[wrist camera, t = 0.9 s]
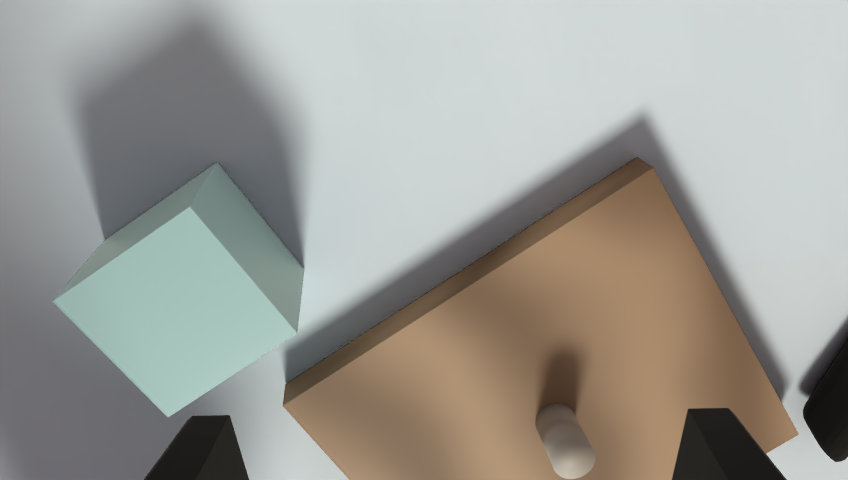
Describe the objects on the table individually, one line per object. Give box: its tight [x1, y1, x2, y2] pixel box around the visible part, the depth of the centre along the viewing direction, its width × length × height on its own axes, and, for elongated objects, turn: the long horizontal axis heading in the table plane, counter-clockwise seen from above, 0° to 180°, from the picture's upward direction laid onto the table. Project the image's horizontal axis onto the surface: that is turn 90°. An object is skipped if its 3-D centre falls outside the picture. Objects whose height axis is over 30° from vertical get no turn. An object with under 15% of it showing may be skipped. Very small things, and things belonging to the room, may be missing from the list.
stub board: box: [283, 158, 799, 480], centre depth 28 cm, size 16×14×4 cm
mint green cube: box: [53, 162, 304, 417], centre depth 24 cm, size 5×5×5 cm
